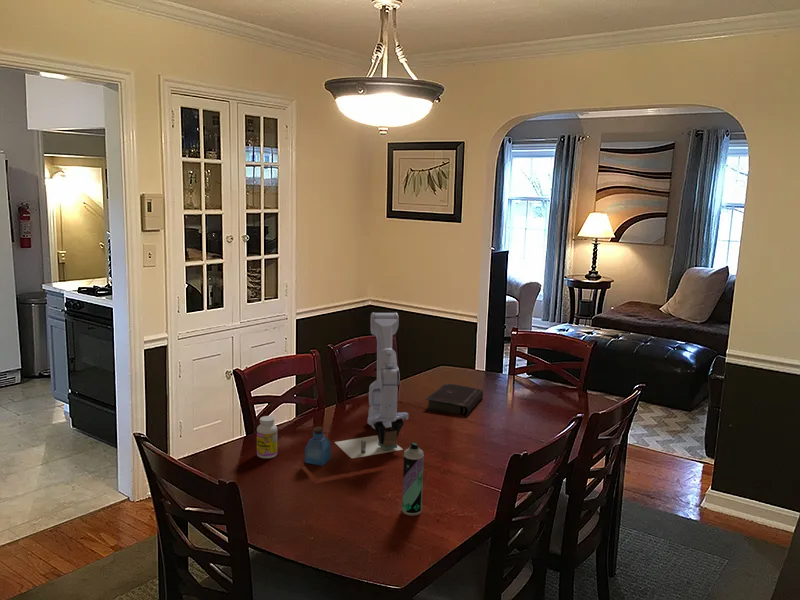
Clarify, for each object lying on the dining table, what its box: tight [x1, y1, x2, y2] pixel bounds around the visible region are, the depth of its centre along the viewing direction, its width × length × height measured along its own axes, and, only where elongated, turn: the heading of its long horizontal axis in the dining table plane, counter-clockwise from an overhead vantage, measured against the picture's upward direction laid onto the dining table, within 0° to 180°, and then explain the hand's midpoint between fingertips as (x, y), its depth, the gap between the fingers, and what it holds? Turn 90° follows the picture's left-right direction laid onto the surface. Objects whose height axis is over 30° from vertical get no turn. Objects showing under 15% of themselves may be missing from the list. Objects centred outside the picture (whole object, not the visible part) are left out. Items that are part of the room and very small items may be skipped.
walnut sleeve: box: [378, 425, 398, 450], centre depth 229 cm, size 5×5×6 cm
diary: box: [425, 383, 484, 417], centre depth 282 cm, size 19×25×5 cm
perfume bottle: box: [304, 426, 332, 466], centre depth 218 cm, size 6×6×12 cm
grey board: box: [334, 435, 404, 459], centre depth 232 cm, size 15×19×1 cm
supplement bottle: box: [256, 415, 278, 459], centre depth 223 cm, size 7×7×13 cm
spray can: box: [401, 442, 425, 516], centre depth 188 cm, size 6×6×20 cm
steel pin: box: [361, 440, 366, 453], centre depth 226 cm, size 2×2×4 cm
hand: (387, 441), depth 230 cm, fingers closed on walnut sleeve, 4 cm apart
